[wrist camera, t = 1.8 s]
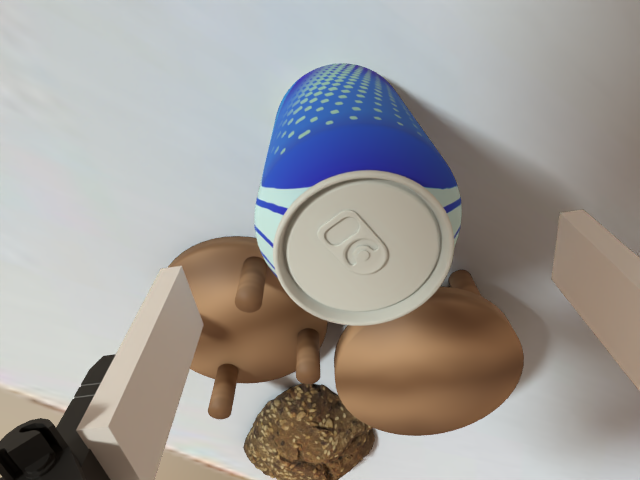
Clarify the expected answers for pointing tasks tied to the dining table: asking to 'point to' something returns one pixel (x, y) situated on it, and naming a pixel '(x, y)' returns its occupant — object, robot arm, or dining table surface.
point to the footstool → (430, 364)
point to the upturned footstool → (246, 320)
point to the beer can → (355, 200)
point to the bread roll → (307, 436)
